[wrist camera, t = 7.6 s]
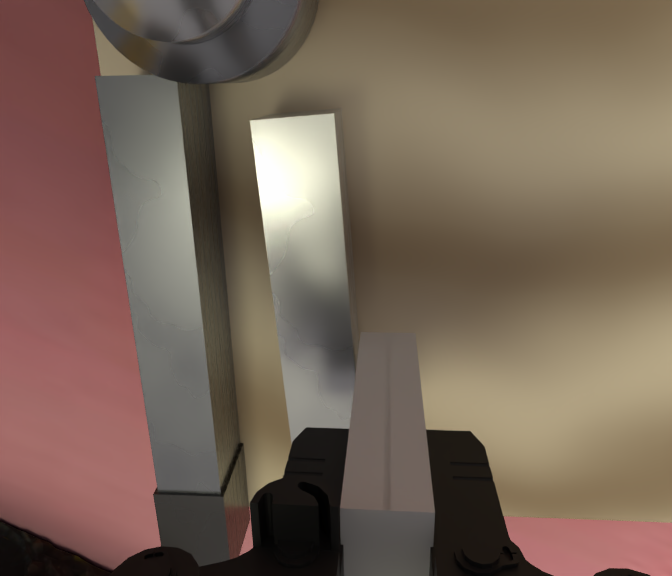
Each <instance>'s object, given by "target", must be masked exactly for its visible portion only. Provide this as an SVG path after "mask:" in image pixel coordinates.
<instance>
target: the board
mask: <svg viewBox="0 0 672 576" xmlns="http://www.w3.org/2000/svg"><path fill="white" fill-rule="evenodd" d="M92 19H93V18H92ZM93 26H94V33H95V39H96V46H97V53H98V59H99V66H100V73H101V76H120V75H153V74H151V73H149V72H147V71H145V70H143V69H141V68H140V67H138V66H137V65H135V64H134V63H132V62H131V61H129V60H128V59H127V58H126V57H125V56H123V55H122V54H121V53H120V52H119V51H118V50H117V49H116V48H115V47H114V46H113V45H112V44H111V43H110V42H109V41H108V40H107V38H106V37H105V36H104V34H103V33H102V32H101V30H100V29H99V28H98V26H97V25H96V23H95V21H94V20H93ZM209 92H210V103H211V114H212V126H213V137H214V148H215V160H216V171H217V182H218V194H219V205H220V216H221V228H222V239H223V250H224V262H225V273H226V284H227V295H228V307H229V318H230V329H231V341H232V352H233V363H234V375H235V386H236V397H237V409H238V420H239V431H240V443H244V453H245V465H246V476H247V488H248V500H249V507H250V501H251V500H252V498H253V497H254V495H255V494H256V492H257V491H258V490H260V489H261V488H262V487H264V486H265V485H267V484H268V483H270V482H273V481H276V480H278V479H281V478H283V475H284V471H285V467H286V464H287V461H288V456H289V453H290V449H291V445H292V443H291V435H290V427H289V420H288V412H287V404H286V397H285V389H284V381H283V373H282V366H281V358H280V350H279V342H278V335H277V327H276V319H275V311H274V304H273V296H272V288H271V280H270V273H269V265H268V257H267V249H266V242H265V234H264V226H263V218H262V211H261V203H260V195H259V187H258V180H257V172H256V164H255V156H254V149H253V141H252V133H251V126H250V120H253V119H256V118H259V117H263V116H266V115H269V114H277V113H289V112H301V111H313V110H324V109H336V108H341V109H342V122H343V135H344V148H345V161H346V174H347V187H348V200H349V213H350V226H351V239H352V252H353V265H354V279H355V292H356V305H357V318H358V331H359V342H360V333H361V332H388V333H415V334H416V343H417V352H418V361H419V371H420V380H421V389H422V398H423V407H424V416H425V426H426V430H453V431H471V432H472V433H473V434H474V435H475V437H476V438H477V439H478V440H479V441H480V442H481V443H482V444H483V445H484V446H485V450H486V453H487V457H488V461H489V467H490V468H491V472H492V476H493V481H494V483H495V487H496V491H497V494H498V498H499V502H500V506H501V509H502V513H503V516H512V517H538V518H565V519H591V520H617V521H643V522H670V523H672V0H319V3H318V9H317V13H316V17H315V20H314V23H313V26H312V28H311V30H310V33H309V35H308V37H307V38H306V40H305V42H304V44H303V45H302V47H301V48H300V49H299V51H298V52H297V53H296V54H295V56H294V57H293V58H292V59H291V60H290V61H289V62H288V63H286V64H285V65H284V66H282V67H281V68H280V69H279V70H277V71H275V72H273V73H272V74H270V75H268V76H266V77H263V78H260V79H258V80H254V81H250V82H243V83H219V84H209Z"/></svg>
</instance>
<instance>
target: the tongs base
mask: <svg viewBox="0 0 672 576" xmlns="http://www.w3.org/2000/svg"><path fill="white" fill-rule="evenodd" d="M84 2H85V4H86V6H87V9H88V11H89V13H90V14H91V16H92V18H93V20H94V21H95V23H96V25H97V26H98V28H99V29H100V30H101V32H102V33H103V34H104V36H105V37H106V38H107V40H108V41H109V42H110V43H111V44H112V45H113V46H114V47H115V48H116V49H117V50H118V51H119V52H120V53H121V54H122V55H123V56H125V57H126V58H127V59H128V60H129V61H131V62H132V63H134V64H135V65H137V66H138V67H140V68H141V69H143V70H145V71H147V72H149V73H151V74H153V75H120V76H95V80H96V87H97V94H98V100H99V107H100V113H101V120H102V126H103V133H104V140H105V146H106V153H107V159H108V166H109V172H110V179H111V186H112V192H113V199H114V205H115V212H116V218H117V225H118V232H119V238H120V245H121V251H122V258H123V264H124V271H125V278H126V284H127V291H128V297H129V304H130V310H131V317H132V324H133V330H134V337H135V343H136V350H137V356H138V363H139V370H140V376H141V383H142V389H143V396H144V403H145V409H146V416H147V422H148V429H149V435H150V442H151V449H152V455H153V462H154V468H155V475H156V481H157V489H156V490H155V492H154V494H153V495H154V502H155V508H156V515H157V521H158V527H159V534H160V540H161V546H166V547H177V548H180V549H182V550H184V551H186V552H188V553H190V554H192V556H193V557H194V559H195V560H196V562H197V563H198V565H199V566H204V565H209V564H214V563H218V562H223V561H227V560H230V559H233V558H236V557H239V554H240V551H241V547H242V544H243V541H244V537H245V534H246V531H247V527H248V524H249V521H250V511H249V500H248V488H247V476H246V465H245V453H244V443H240V431H239V420H238V409H237V397H236V386H235V375H234V363H233V352H232V341H231V329H230V318H229V307H228V295H227V284H226V273H225V262H224V250H223V239H222V228H221V216H220V205H219V194H218V182H217V171H216V160H215V148H214V137H213V126H212V114H211V103H210V92H209V84H219V83H243V82H250V81H254V80H258V79H260V78H263V77H266V76H268V75H270V74H272V73H273V72H275V71H277V70H279V69H280V68H281V67H282V66H284V65H285V64H286V63H288V62H289V61H290V60H291V59H292V58H293V57H294V56H295V54H296V53H297V52H298V51H299V49H300V48H301V47H302V45H303V44H304V42H305V40H306V38H307V37H308V35H309V33H310V30H311V28H312V26H313V23H314V20H315V17H316V13H317V9H318V3H319V0H252V1H251V4H250V5H249V7H248V9H247V10H246V12H245V14H244V15H243V16H242V17H241V19H240V20H239V21H238V22H237V23H236V24H235V25H234V26H233V27H232V28H231V29H230V30H228V31H227V32H225V33H224V34H223V35H221V36H219V37H217V38H215V39H213V40H211V41H207V42H204V43H200V44H194V45H179V44H171V43H165V42H160V41H154V40H150V39H146V38H142V37H140V36H137V35H135V34H133V33H131V32H129V31H127V30H125V29H124V28H122V27H120V26H119V25H118V24H116V23H115V22H114V21H112V20H111V19H110V18H109V17H108V16H107V15H106V14H105V13H104V12H103V11H102V10H101V9H100V8H99V7H98V5H97V4H96V3H95V2H94V0H84Z"/></svg>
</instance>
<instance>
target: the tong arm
mask: <svg viewBox="0 0 672 576" xmlns="http://www.w3.org/2000/svg"><path fill="white" fill-rule="evenodd" d="M251 1H252V0H94V2H95V3H96V4H97V5H98V7H99V8H100V9H101V10H102V11H103V12H104V13H105V14H106V15H107V16H108V17H109V18H110V19H111V20H112V21H114V22H115V23H116V24H118V25H119V26H120V27H122V28H124V29H125V30H127V31H129V32H131V33H133V34H135V35H137V36H140V37H142V38H146V39H150V40H154V41H160V42H165V43H171V44H179V45H194V44H200V43H204V42H207V41H211V40H213V39H215V38H217V37H219V36H221V35H223V34H224V33H225V32H227V31H228V30H230V29H231V28H232V27H233V26H234V25H235V24H236V23H237V22H238V21H239V20H240V19H241V17H242V16H243V15H244V14H245V12H246V10H247V9H248V7H249V5H250V4H251ZM250 126H251V133H252V141H253V149H254V156H255V164H256V172H257V180H258V187H259V195H260V203H261V211H262V218H263V226H264V234H265V242H266V249H267V257H268V265H269V273H270V280H271V288H272V296H273V304H274V311H275V319H276V327H277V335H278V342H279V350H280V358H281V366H282V373H283V381H284V389H285V397H286V404H287V412H288V420H289V427H290V435H291V443H292V442H293V440H294V439H295V438H296V437H297V436H298V435H299V434H300V433H301V432H302V431H303V430H304V429H305V428H306V427H313V428H342V429H349V427H350V418H351V410H352V401H353V393H354V384H355V376H356V367H357V359H358V350H359V331H358V318H357V305H356V292H355V279H354V265H353V252H352V239H351V226H350V213H349V200H348V187H347V174H346V161H345V148H344V135H343V122H342V109H341V108H336V109H324V110H313V111H301V112H289V113H277V114H269V115H266V116H263V117H259V118H256V119H253V120H250Z"/></svg>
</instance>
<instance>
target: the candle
mask: <svg viewBox="0 0 672 576" xmlns="http://www.w3.org/2000/svg"><path fill="white" fill-rule="evenodd" d="M110 574H111V573H110V572H107V571H105V570H102V569H99V568H97V567H95V566H93V565H91V564H90V563H88V562H86V561H85V560H83V559H81V558H79V557H78V556H76V555H73V554H70V553H67V552H64V551H61V550H59V549H57V548H55V547H54V546H53V545H52V544H51V543H50V542H47V541H44V540H41V539H38V538H36V537H34V536H32V535H30V534H28V533H26V532H23V531H20V530H18V529H16V528H14V527H11V526H9V525H7V524H5V523H3V522H1V521H0V576H109V575H110Z"/></svg>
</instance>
